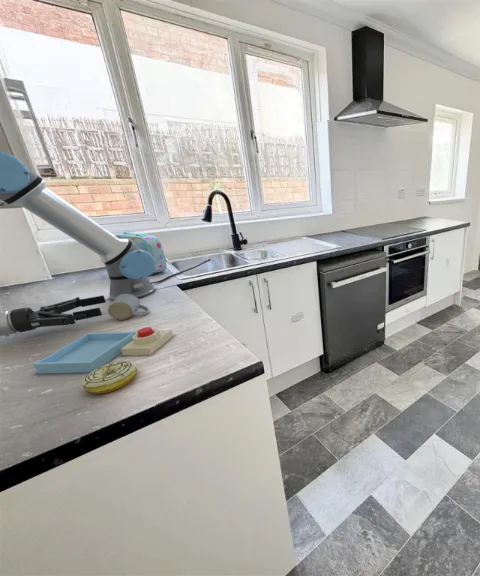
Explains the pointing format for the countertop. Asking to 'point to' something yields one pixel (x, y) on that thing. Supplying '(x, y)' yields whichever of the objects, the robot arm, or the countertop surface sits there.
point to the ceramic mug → (126, 307)
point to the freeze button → (145, 332)
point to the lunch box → (148, 247)
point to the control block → (147, 343)
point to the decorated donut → (109, 377)
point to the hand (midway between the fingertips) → (102, 304)
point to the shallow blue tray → (85, 353)
